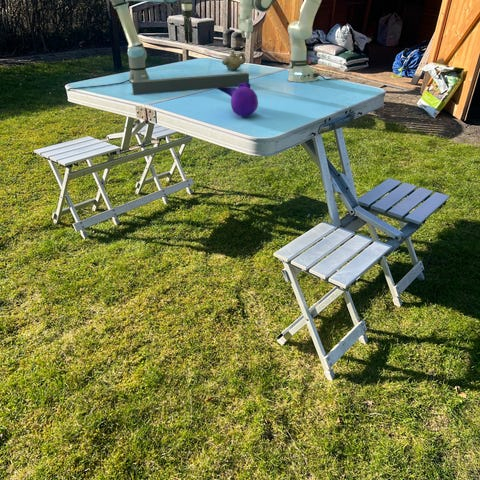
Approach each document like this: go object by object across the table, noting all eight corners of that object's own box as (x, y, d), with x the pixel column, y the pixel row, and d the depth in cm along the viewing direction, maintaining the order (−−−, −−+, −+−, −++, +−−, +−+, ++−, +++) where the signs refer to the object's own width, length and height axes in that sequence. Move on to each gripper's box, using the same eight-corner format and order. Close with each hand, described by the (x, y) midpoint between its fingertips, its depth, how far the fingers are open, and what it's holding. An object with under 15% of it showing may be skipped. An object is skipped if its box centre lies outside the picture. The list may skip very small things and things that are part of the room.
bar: (133, 94, 300) (132, 82, 296) (132, 93, 304) (131, 81, 301) (249, 85, 320) (248, 73, 316) (246, 83, 325) (246, 72, 321)
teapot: (225, 72, 362) (225, 52, 354) (219, 70, 371) (218, 51, 363) (248, 69, 371) (248, 50, 364) (241, 67, 380) (241, 48, 372)
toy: (241, 106, 267) (257, 123, 246) (213, 101, 259) (228, 118, 239) (248, 79, 259) (266, 94, 238) (220, 73, 251) (235, 89, 231)
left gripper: (196, 11, 321) (197, 43, 332) (188, 9, 342) (189, 39, 352) (185, 11, 319) (187, 43, 330) (178, 9, 340) (180, 39, 350)
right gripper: (255, 16, 292) (254, 39, 299) (245, 14, 309) (245, 36, 316) (246, 16, 290) (246, 40, 297) (237, 14, 307) (237, 36, 314)
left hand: (188, 41), depth 341 cm, fingers open, 13 cm apart
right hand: (245, 38), depth 307 cm, fingers open, 8 cm apart
